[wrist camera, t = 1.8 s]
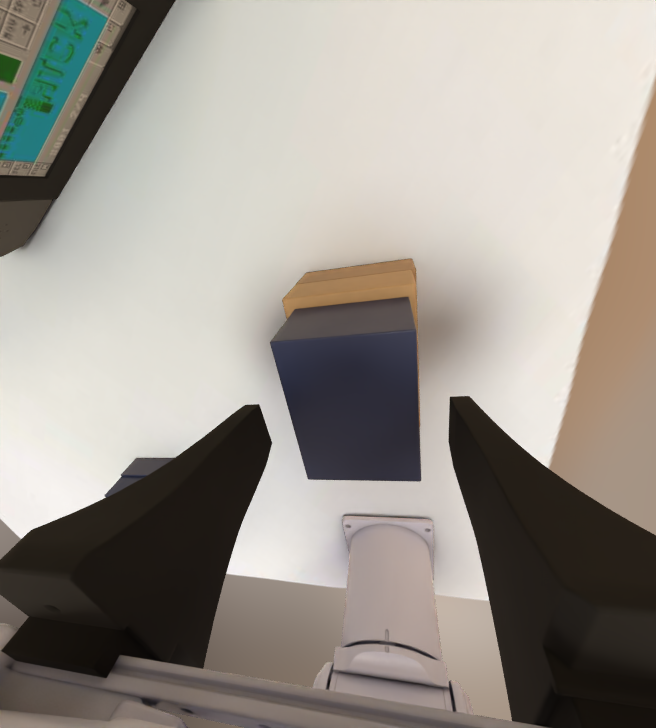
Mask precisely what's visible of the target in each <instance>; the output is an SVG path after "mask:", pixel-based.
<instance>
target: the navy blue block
mask: <svg viewBox="0 0 656 728" xmlns="http://www.w3.org/2000/svg"><path fill="white" fill-rule="evenodd" d="M173 459H174V458H136V459H135V460H134V461H133V462H132V463H131V464H130V466H129V467H128V468H127V469H126V470H125V471H124V472H123V473H122V474H121V476H122V477H121V478H120V479H119V480H118V481H117V482H116V484H115V485H114V486H113V487H112V488H111V489H110V490H109V491H108V492H107V493H106V495H105V497H108V496H110V495H112V494H114V493H116V492H118V491H120V490H122V489H124V488H126V487H127V486H129V485H131V484H133V483H135V482H137V481H138V480H140V479H142V478H144V477H146V476H147V475H149V474H151V473H152V472H154V471H156V470H157V469H159V468H160V467H162V466H163V465H165V464H167V463H168V462H170V461H171V460H173Z"/></svg>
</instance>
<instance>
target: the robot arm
mask: <svg viewBox="0 0 656 728" xmlns="http://www.w3.org/2000/svg"><path fill="white" fill-rule="evenodd" d="M271 445H272V441H271V438H270V435H269V432H268V429H267V426H266V423H265V420H264V417H263V414H262V411H261V408H260V405H259V404H258V405H245V406H243V407H242V408H240V409H239V410H237V411H236V412H235V413H234V414H232V415H231V416H230V417H228V418H227V419H226V420H225V421H223V422H222V423H221V424H220V425H218V426H217V427H216V428H215V429H213V430H212V431H211V432H209V433H208V434H207V435H206V436H204V437H203V438H202V439H200V440H199V441H198V442H196V443H195V444H194V445H192V446H191V447H190V448H188V449H187V450H185V451H184V452H183V453H181V454H180V455H179V456H177V457H176V458H174V459H173V460H171V461H170V462H168V463H167V464H165V465H163V466H162V467H160V468H159V469H157V470H156V471H154V472H152V473H151V474H149V475H147V476H146V477H144V478H142V479H140V480H138V481H137V482H135V483H133V484H131V485H129V486H127V487H126V488H124V489H122V490H120V491H118V492H116V493H114V494H112V495H110V496H108V497H106V498H104V499H102V500H100V501H98V502H96V503H94V504H92V505H90V506H88V507H85V508H83V509H81V510H79V511H76V512H74V513H72V514H69V515H67V516H65V517H62V518H60V519H57V520H55V521H52V522H50V523H48V524H45V525H43V526H40V527H38V528H35V529H33V530H31V531H30V532H29V533H27V534H26V535H25V536H24V537H23V538H22V539H21V540H20V541H19V542H18V543H17V544H16V545H15V546H14V547H13V548H12V549H11V550H10V551H9V552H8V553H7V554H6V555H5V556H4V557H3V558H2V559H1V560H0V595H2V596H3V597H4V598H6V599H7V600H8V601H9V602H11V603H12V604H13V605H15V606H16V607H17V608H18V609H20V610H21V611H22V612H24V613H25V614H26V615H28V616H29V618H28V619H27V620H26V621H25V622H24V624H23V625H22V626H21V627H20V628H19V629H18V628H16V627H14V626H12V625H8V624H3V623H0V728H188V727H187V726H186V725H185V723H184V722H183V720H182V719H181V718H179V717H177V716H174V715H171V714H168V713H166V712H163V711H168V712H173V713H178V714H182V715H187V716H192V717H197V718H201V719H206V720H211V721H216V722H221V723H225V724H230V725H235V726H240V727H244V728H656V535H654V534H652V533H650V532H648V531H647V530H645V529H643V528H641V527H639V526H638V525H636V524H634V523H632V522H630V521H628V520H627V519H625V518H623V517H622V516H620V515H618V514H616V513H615V512H613V511H611V510H610V509H608V508H606V507H605V506H603V505H602V504H600V503H599V502H597V501H595V500H594V499H592V498H591V497H589V496H587V495H585V494H584V493H583V492H581V491H579V490H578V489H577V488H575V487H573V486H572V485H571V484H569V483H568V482H566V481H565V480H563V479H562V478H560V477H559V476H558V475H556V474H555V473H554V472H552V471H551V470H549V469H548V468H547V467H545V466H544V465H543V464H541V463H540V462H539V461H538V460H536V459H535V458H534V457H533V456H531V455H530V454H529V453H528V452H527V451H525V450H524V449H523V448H522V447H521V446H520V445H518V444H517V443H516V442H515V441H514V440H513V439H512V438H511V437H510V436H508V435H507V434H506V433H505V432H504V431H503V430H502V429H501V428H500V427H499V426H498V425H497V424H496V423H495V422H494V421H493V420H492V419H491V418H490V417H489V416H488V415H487V414H486V413H485V412H484V411H483V410H482V409H481V408H480V407H479V406H478V405H477V404H476V403H475V402H474V401H473V399H471V398H470V397H469V396H459V397H450V412H449V446H450V451H451V456H452V461H453V467H454V470H455V473H456V477H457V480H458V483H459V486H460V489H461V492H462V495H463V499H464V502H465V505H466V508H467V511H468V514H469V517H470V520H471V524H472V527H473V530H474V534H475V537H476V541H477V545H478V549H479V554H480V558H481V563H482V568H483V572H484V577H485V581H486V586H487V591H488V596H489V601H490V605H491V610H492V615H493V620H494V626H495V630H496V636H497V641H498V646H499V651H500V656H501V662H502V667H503V673H504V678H505V683H506V689H507V694H508V700H509V705H510V710H511V717H512V721H508V720H501V719H496V718H490V717H484V716H478V715H474V713H473V709H472V705H471V702H470V699H469V697H468V695H467V694H466V693H465V691H464V690H463V689H462V688H461V686H460V683H459V682H457V681H449V682H448V675H447V668H446V663H445V662H444V661H442V652H441V644H440V636H439V627H438V620H437V612H436V603H435V596H434V587H433V580H434V558H433V522H432V521H431V520H429V519H413V518H389V517H366V516H344V517H343V519H342V523H343V528H344V532H345V537H346V541H347V546H348V550H349V555H350V558H349V568H348V579H347V591H346V600H345V611H344V622H343V632H342V642H341V647H336V648H335V656H334V663H332V662H327V663H326V664H325V665H324V667H323V668H322V670H321V671H320V672H319V673H318V675H317V676H316V679H315V682H314V685H313V687H307V686H301V685H295V684H289V683H283V682H278V681H272V680H266V679H260V678H254V677H248V676H242V675H236V674H230V673H224V672H218V671H212V670H207V669H203V667H204V662H205V657H206V653H207V648H208V644H209V639H210V635H211V630H212V626H213V621H214V617H215V613H216V609H217V605H218V601H219V598H220V594H221V590H222V586H223V582H224V579H225V575H226V572H227V568H228V565H229V561H230V558H231V554H232V551H233V548H234V545H235V542H236V538H237V535H238V532H239V529H240V527H241V524H242V521H243V519H244V516H245V514H246V512H247V509H248V507H249V505H250V502H251V500H252V498H253V495H254V493H255V491H256V488H257V486H258V484H259V481H260V479H261V476H262V474H263V472H264V469H265V467H266V463H267V460H268V456H269V453H270V449H271ZM157 709H158V710H157ZM160 710H163V711H160Z"/></svg>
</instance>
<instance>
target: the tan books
mask: <svg viewBox="0 0 656 728" xmlns="http://www.w3.org/2000/svg"><path fill="white" fill-rule="evenodd" d="M400 297H409V299H410V303H411V308H412V312H413V317H414V321H415V325H416V330H417V359H418V324H417V289H416V268H415V266H414V263H413V261H412V259H404V260H397V261H389V262H382V263H375V264H367V265H360V266H352V267H345V268H338V269H330V270H323V271H315V272H308V273H306V274H305V275H304V276H303V277H302V278H301V279H300V280H299V281H298V282H297V283H296V285H295V286H294V287H293V288H292V289H291V290H290V292H289V293H288V294H287V295H286V296H285V297H284V298H283V300H282V301H283V305H284V309H285V314H286V318H287V319H288V318H289V316H290V315H291V313H292V312H293V311H294V309H300V308H309V307H318V306H327V305H337V304H346V303H355V302H364V301H373V300H382V299H391V298H400ZM418 393H419V360H418ZM419 427H420V396H419Z"/></svg>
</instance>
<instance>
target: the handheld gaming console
mask: <svg viewBox="0 0 656 728" xmlns="http://www.w3.org/2000/svg"><path fill="white" fill-rule="evenodd" d="M173 2H174V0H0V257H1V256H4V255H6V254H8V253H10V252H12V251H14V250H16V249H17V248H19V247H21V246H23V245H24V244H25V242H26V241H27V240H28V238H29V237H30V236H31V234H32V233H33V232H34V230H35V229H36V228H37V226H38V224H39V222H40V221H41V219H42V217H43V216H44V214H45V212H46V211H47V209H48V207H49V205H50V204H51V202H52V200H53V199H57V198H58V196H59V194H60V193H61V191H62V189H63V188H64V186H65V184H66V182H67V181H68V179H69V177H70V176H71V174H72V172H73V171H74V169H75V167H76V166H77V164H78V162H79V161H80V159H81V157H82V155H83V154H84V152H85V150H86V149H87V147H88V145H89V144H90V142H91V140H92V139H93V137H94V135H95V134H96V132H97V130H98V129H99V127H100V125H101V123H102V122H103V120H104V118H105V117H106V115H107V113H108V112H109V110H110V108H111V107H112V105H113V103H114V102H115V100H116V98H117V97H118V95H119V93H120V91H121V90H122V88H123V86H124V85H125V83H126V81H127V80H128V78H129V76H130V75H131V73H132V71H133V70H134V68H135V66H136V65H137V63H138V61H139V59H140V58H141V56H142V54H143V53H144V51H145V49H146V48H147V46H148V44H149V43H150V41H151V39H152V38H153V36H154V34H155V32H156V31H157V29H158V27H159V26H160V24H161V22H162V21H163V19H164V17H165V16H166V14H167V12H168V11H169V9H170V7H171V6H172V4H173Z"/></svg>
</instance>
